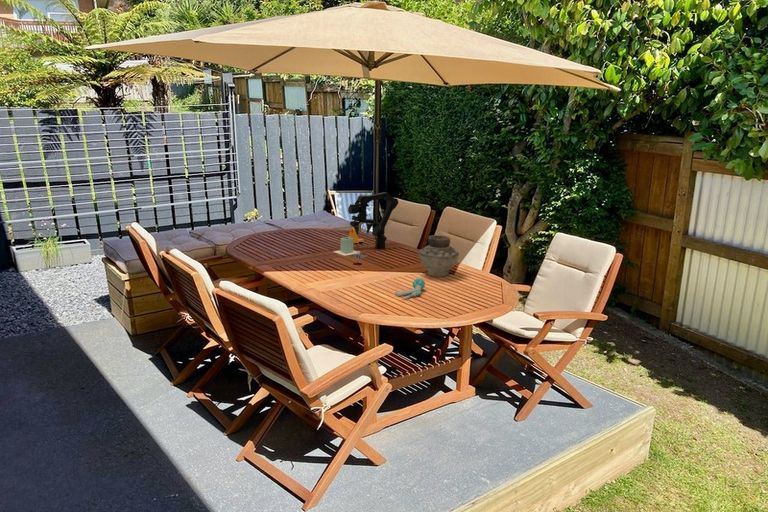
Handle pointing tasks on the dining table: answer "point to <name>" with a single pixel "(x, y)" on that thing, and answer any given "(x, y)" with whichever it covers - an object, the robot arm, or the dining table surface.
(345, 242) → the sleeve
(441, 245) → the ceramic pot
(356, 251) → the board
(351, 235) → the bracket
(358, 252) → the stand
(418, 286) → the garden hose nozzle
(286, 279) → the dining table surface
